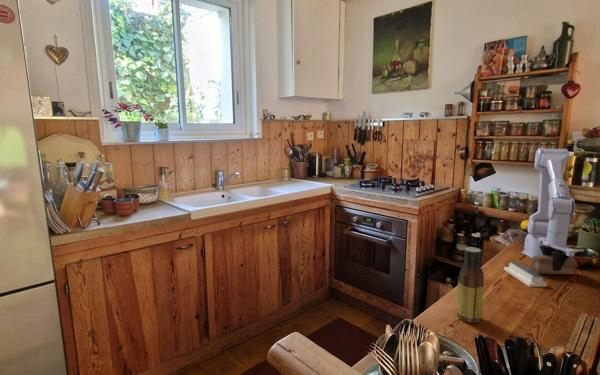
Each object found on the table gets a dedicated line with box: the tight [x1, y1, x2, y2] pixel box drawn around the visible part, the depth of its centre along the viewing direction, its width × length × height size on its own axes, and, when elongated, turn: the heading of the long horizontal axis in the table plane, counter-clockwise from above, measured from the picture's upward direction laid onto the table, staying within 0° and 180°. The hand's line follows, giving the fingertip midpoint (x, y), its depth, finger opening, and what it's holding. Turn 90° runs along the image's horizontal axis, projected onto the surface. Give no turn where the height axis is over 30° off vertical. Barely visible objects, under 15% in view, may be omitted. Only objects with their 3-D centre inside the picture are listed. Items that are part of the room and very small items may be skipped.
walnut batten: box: [530, 256, 577, 275], centre depth 123 cm, size 4×13×6 cm, turn 91°
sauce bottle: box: [456, 246, 485, 324], centre depth 92 cm, size 7×6×20 cm
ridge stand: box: [503, 260, 548, 288], centre depth 120 cm, size 14×6×4 cm, turn 1°
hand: (552, 268), depth 123 cm, fingers closed on walnut batten, 3 cm apart
